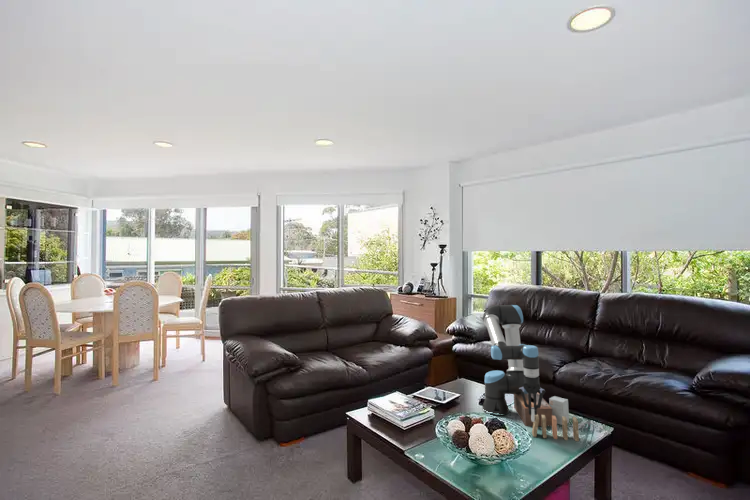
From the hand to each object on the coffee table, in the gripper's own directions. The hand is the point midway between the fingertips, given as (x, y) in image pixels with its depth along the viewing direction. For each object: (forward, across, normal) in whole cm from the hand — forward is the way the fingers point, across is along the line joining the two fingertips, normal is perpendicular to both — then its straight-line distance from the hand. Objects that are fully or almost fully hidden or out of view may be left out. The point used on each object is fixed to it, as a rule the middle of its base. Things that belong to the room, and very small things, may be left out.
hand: (533, 420), depth 206 cm
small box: (+8, +15, +20) cm, 26 cm away
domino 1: (+7, 0, 0) cm, 7 cm away
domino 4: (+8, +20, 0) cm, 22 cm away
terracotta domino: (+8, +10, 0) cm, 13 cm away
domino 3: (+8, +15, 0) cm, 17 cm away
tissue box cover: (+8, +1, +25) cm, 26 cm away
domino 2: (+8, +5, 0) cm, 9 cm away
